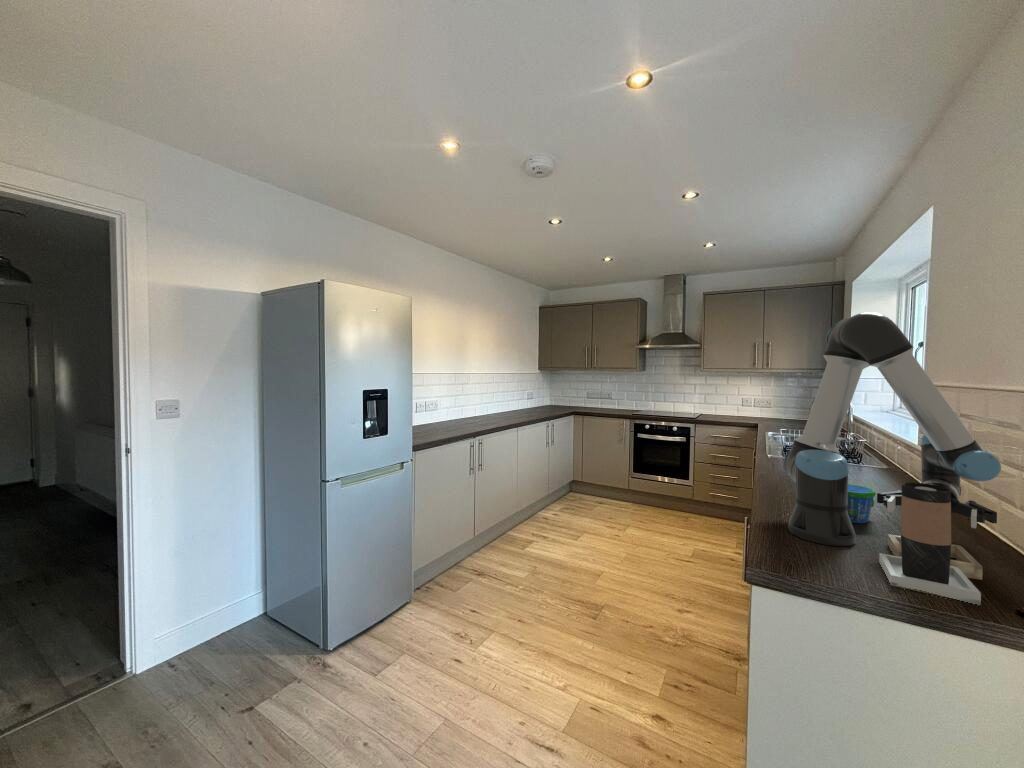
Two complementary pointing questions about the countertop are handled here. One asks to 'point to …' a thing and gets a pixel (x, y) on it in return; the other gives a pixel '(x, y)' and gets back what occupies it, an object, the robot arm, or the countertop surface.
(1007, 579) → the countertop surface
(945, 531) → the travel mug
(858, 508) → the snack cup
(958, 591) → the grey tray
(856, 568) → the countertop surface
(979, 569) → the wooden holder
